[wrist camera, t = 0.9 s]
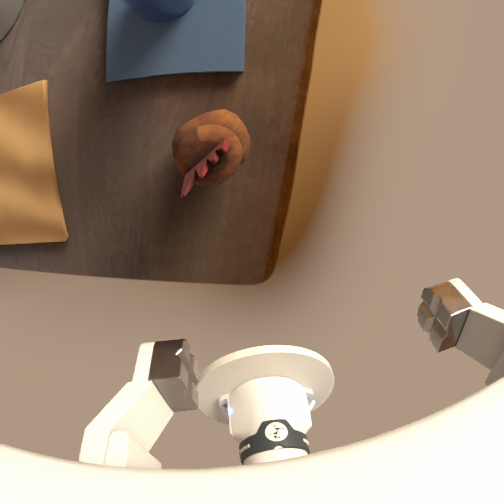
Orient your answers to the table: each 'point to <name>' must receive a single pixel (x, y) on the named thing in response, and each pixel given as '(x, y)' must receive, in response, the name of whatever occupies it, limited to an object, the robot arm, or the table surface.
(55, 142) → the table surface
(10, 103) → the cork mat
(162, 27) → the blue mat
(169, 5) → the blue bottle
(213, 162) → the wooden figurine
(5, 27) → the cup
